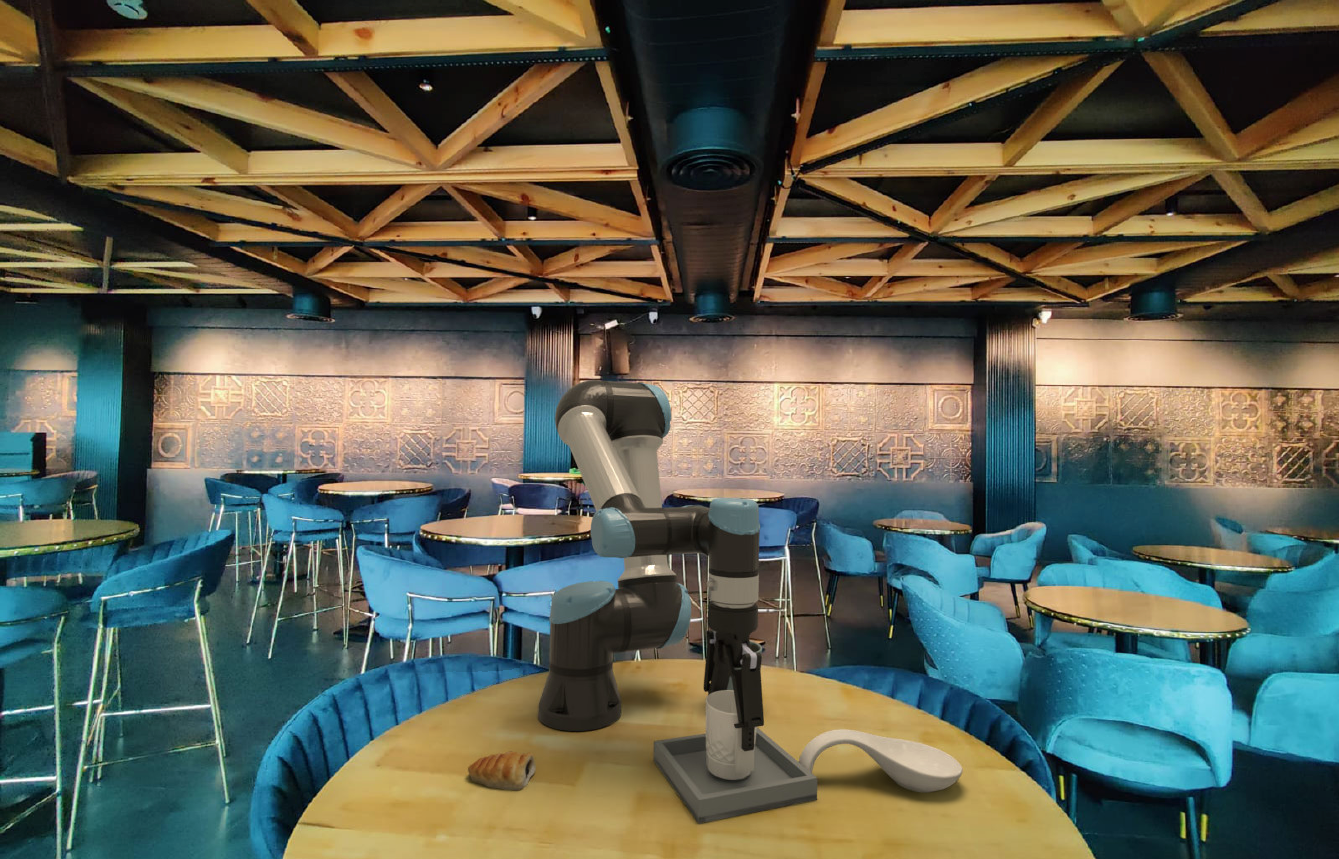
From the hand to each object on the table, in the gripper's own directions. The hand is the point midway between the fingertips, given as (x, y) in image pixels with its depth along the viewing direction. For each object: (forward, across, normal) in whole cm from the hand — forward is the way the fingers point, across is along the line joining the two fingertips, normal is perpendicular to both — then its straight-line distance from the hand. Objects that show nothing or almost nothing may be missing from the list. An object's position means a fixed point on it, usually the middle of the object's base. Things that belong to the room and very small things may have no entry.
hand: (730, 757), depth 94 cm
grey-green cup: (+3, -23, +12) cm, 26 cm away
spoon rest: (+4, +8, +21) cm, 22 cm away
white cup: (+2, 0, 0) cm, 2 cm away
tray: (+3, 0, 0) cm, 3 cm away
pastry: (+4, -11, -32) cm, 33 cm away
